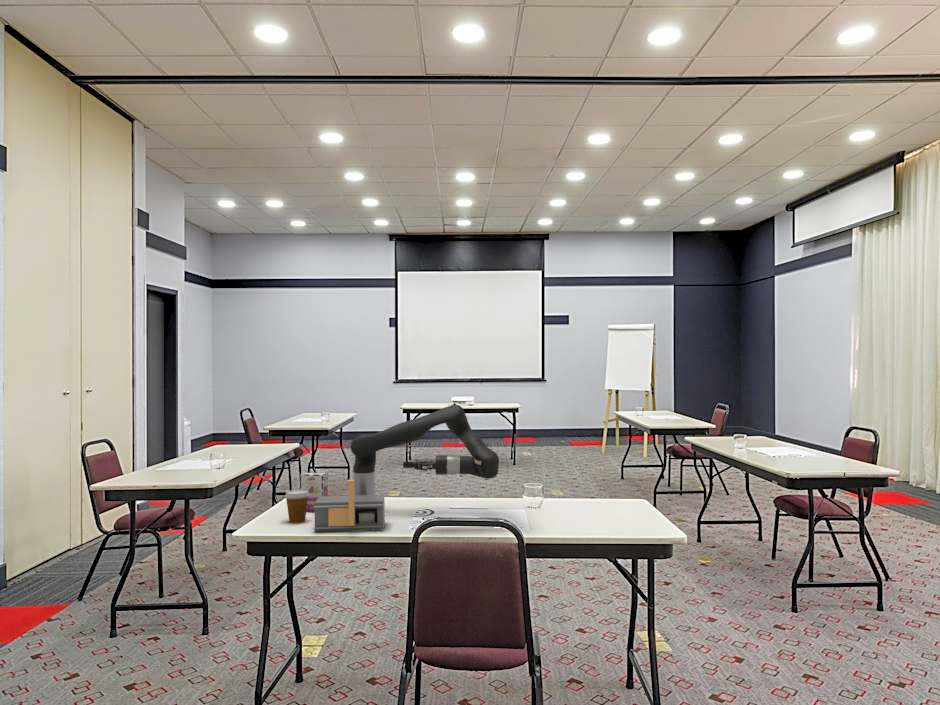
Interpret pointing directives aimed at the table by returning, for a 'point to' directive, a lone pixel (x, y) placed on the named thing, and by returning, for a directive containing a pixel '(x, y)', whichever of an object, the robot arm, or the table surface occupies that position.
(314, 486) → the candy bar box
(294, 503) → the disposable coffee cup
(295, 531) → the table surface
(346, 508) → the side door
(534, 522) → the table surface
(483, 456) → the robot arm
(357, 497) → the case
